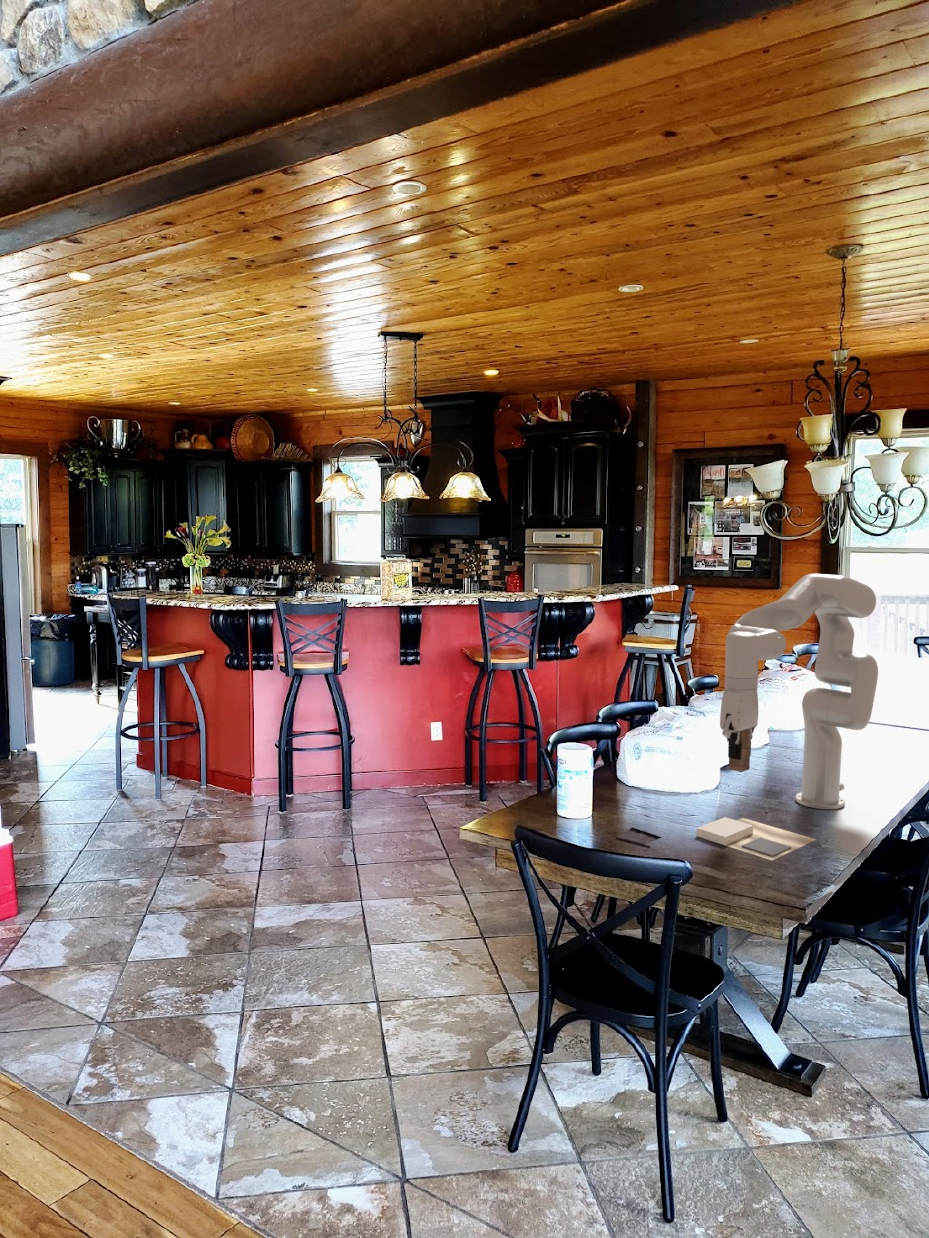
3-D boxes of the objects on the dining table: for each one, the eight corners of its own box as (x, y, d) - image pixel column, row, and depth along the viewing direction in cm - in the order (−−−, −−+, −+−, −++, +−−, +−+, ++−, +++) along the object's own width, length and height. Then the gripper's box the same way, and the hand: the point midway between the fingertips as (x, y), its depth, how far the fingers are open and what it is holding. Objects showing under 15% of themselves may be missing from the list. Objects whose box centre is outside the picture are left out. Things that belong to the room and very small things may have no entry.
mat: (760, 838, 218) (760, 837, 218) (791, 848, 212) (791, 846, 212) (741, 846, 213) (741, 845, 213) (772, 856, 207) (772, 855, 207)
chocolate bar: (615, 836, 222) (650, 817, 235) (615, 840, 222) (650, 820, 236) (649, 845, 216) (682, 825, 230) (649, 849, 216) (682, 828, 230)
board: (742, 822, 233) (742, 817, 233) (816, 844, 218) (816, 839, 218) (696, 840, 220) (696, 836, 220) (771, 865, 205) (772, 860, 205)
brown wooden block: (736, 766, 225) (738, 718, 223) (749, 769, 222) (750, 721, 220) (728, 769, 222) (729, 721, 221) (741, 772, 220) (742, 724, 218)
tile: (724, 817, 228) (696, 827, 220) (753, 825, 222) (725, 837, 214) (724, 825, 228) (696, 836, 220) (753, 833, 222) (725, 845, 214)
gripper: (746, 675, 227) (744, 746, 230) (707, 686, 217) (706, 760, 219) (773, 680, 222) (771, 753, 224) (735, 691, 211) (733, 767, 214)
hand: (739, 756), depth 222 cm, fingers closed on brown wooden block, 3 cm apart
